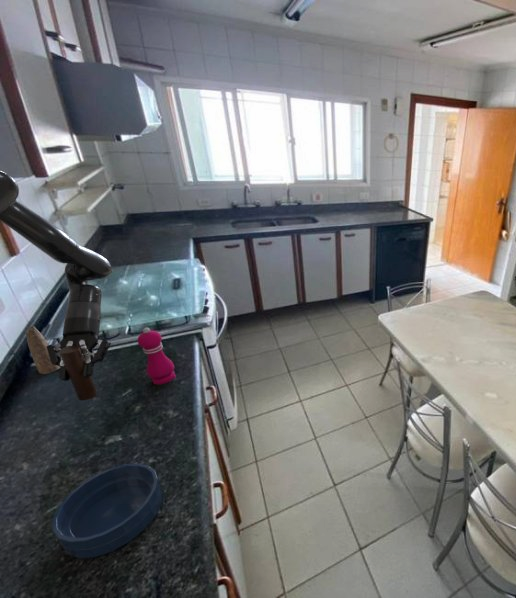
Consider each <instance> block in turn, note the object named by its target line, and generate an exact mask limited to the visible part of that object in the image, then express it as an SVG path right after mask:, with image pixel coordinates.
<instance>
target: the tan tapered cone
mask: <svg viewBox="0 0 516 598" xmlns="http://www.w3.org/2000/svg"><path fill="white" fill-rule="evenodd" d="M25 337H26V341H27V345H28V349H29V352H30V354H31V357H32V360H33V362H34V364H35V368H36V370H37V372H38V373H39V374H42V375H49V374H51V373H54V372H56V371H57V370H60V366H57V365H53V364H52V363H51V360H50V357H49V353H48V350H47V346H48V345H49V343H48V341H46V339H45V337H44V335H43V334H42V333H41V332H40V331H39V330H38V329H37V328H36V327H35V326H34V325H31V326H27V329H26V330H25Z"/></svg>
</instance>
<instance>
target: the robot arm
mask: <svg viewBox="0 0 516 598" xmlns="http://www.w3.org/2000/svg"><path fill="white" fill-rule="evenodd" d="M19 194H20V188H19V184H18V183H17V181H16V180H15V178H13V176H11V175H10V174H8V173H7V172H4V171H3V170H0V222H1V223H2V224H4V225H5V226H7V227H8V228H11V230H13V231H14V232H15V233H17V234H18V235H20V236H21V237H23V239H25V240H27V241H28V242H29V243H31V245H32V246H35V247H36V249H38V250H40V252H43V253H44V254H45V255H47V256H48V257H50V258H51V259H53V260H54V261H56V262H58V263H60V264H65V267H64V275H65V279H66V283H67V286H68V290H69V294H68V302H67V307H66V311H65V315H64V321H63V329H62V338H61V340H60V342H59V343H56V344H53V345H52V344H48V346H47V350H48V353H49V357H50V360H51V363H52V364H53V365H57V366H60V368H59V376H58V377H59V379H61V381H64V382H65V381H67V382H68V381H70V377H69V375H68V372H67V370H66V368H65V365H64V363H63V361H62V358H61V356H60V353H59V351H60V350H61V349H63V348H65V347H68V346H74V345H76V346H79V347H80V350H81V353H82V355H83V358H84V360H85V363H86V364H84V370H83V378H90V376H91V377H92V376H93V373H94V366H95V364H96V363H99V362H101V363H102V362H104V361H103V360H104V359H105V356H106V355H107V352H108V350H109V349H110V347H111V344H112V342H111V341H109V340H107V339H101V338H100V337H99V335H100V329H101V328H100V326H101V320H102V307H101V306H102V296H103V291H102V289H101V287H99V286H97V285H93V284H88V282H90V281H98V280H104V279H106V278H108V277H110V276H111V274H112V272H113V268H112V265H111V263H110V262H109V260H108V259H107V258H106V257H104V256H103V255H101V254H99V253H98V252H96V251H94V250H92V249H90V248H89V247H86V246H84V245H81V244H79V242H77V241H76V240H75V239H74V238H72V237H71V236H70V235H69V234H67V233H66V232H65V231H64V230H62V229H61V228H59V227H58V226H56V225H55V224H53V223H52V222H50V221H49V220H47V219H45V218H44V217H43V216H42V215H40V214H38V213H36V212H35V211H33V210H32V209H30V208H29V207H28V206H27V205H25V204H23V203H22V202H21V201H19V200H18V197H19ZM97 346H98V348H97V350H96V351H95V352H94V349H95V348H96V347H97Z"/></svg>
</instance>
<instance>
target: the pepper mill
mask: <svg viewBox="0 0 516 598" xmlns="http://www.w3.org/2000/svg"><path fill="white" fill-rule="evenodd" d="M162 340H163V338H162V334H161V333H160V332H159V331H156V330H151V329H150V328H149V327H144V328H142V333H140V334H139V336H138V337H137V344H138V346H139V347H141V348H142V351H143V354H146V356H147V366H146V373H147V376H148V377H149V378H151V381H152V383H153V384H154V385H159V386H160V385H164V384H168V383H170V382H171V381H173V380H175V379H176V377H177V375H176V373H175V364H174V362H173V361H172V360H171V359H170V358H169V357H168V356H166V354H165V352H164V351H163V347H164V346H163V343H162Z"/></svg>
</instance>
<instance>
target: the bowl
mask: <svg viewBox="0 0 516 598" xmlns="http://www.w3.org/2000/svg"><path fill="white" fill-rule="evenodd" d="M163 497H164V493H163V490H162V487H161V485H160V482H159V477H158V476H157V472H156V470H155V469H153V467H151V466H149V465H148V464H143V463H137V462H136V463H125V464H121V465H118V466H117V465H116V466H114V467H111V468H109V469H106V470H104V471H101V472H99V473H97V474H95V475H94V476H92V477H90V478H89V479H86V480H85V481H84V482H82V483H81V484H80V485H78V486H77V487H76V488H75V489H74V490H73V491H71V492H70V493H69V494H68V496H67V497H65V499H64V500H63V501H62V503H61V504H60V505H59V506H58V508H57V510H56V511H55V514H54V516H53V518H52V532H53V533H54V535H55V537H56V538H57V540H58V542H59V543H60V545H61V547H62V548H63V550H65V552H66V553H67V555H68V556H71V557H74V558H78V559H91V558H97V557H100V556H104V555H106V554H109V553H112V552H114V551H116V550H117V549H119V548H121V547H123V546H125V545H126V544H128V543H129V542H131V541H132V540H133V539H135V538H136V537H138V536H139V535H140V534H141V533H142V532H143V531H144V530H145V529H146V528H147V527H148V526H149V525H150V523H151V522H152V521H153V520H154V519H155V518H156V516H157V514H158V512H159V510H160V509H161V507H162V501H163Z"/></svg>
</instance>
